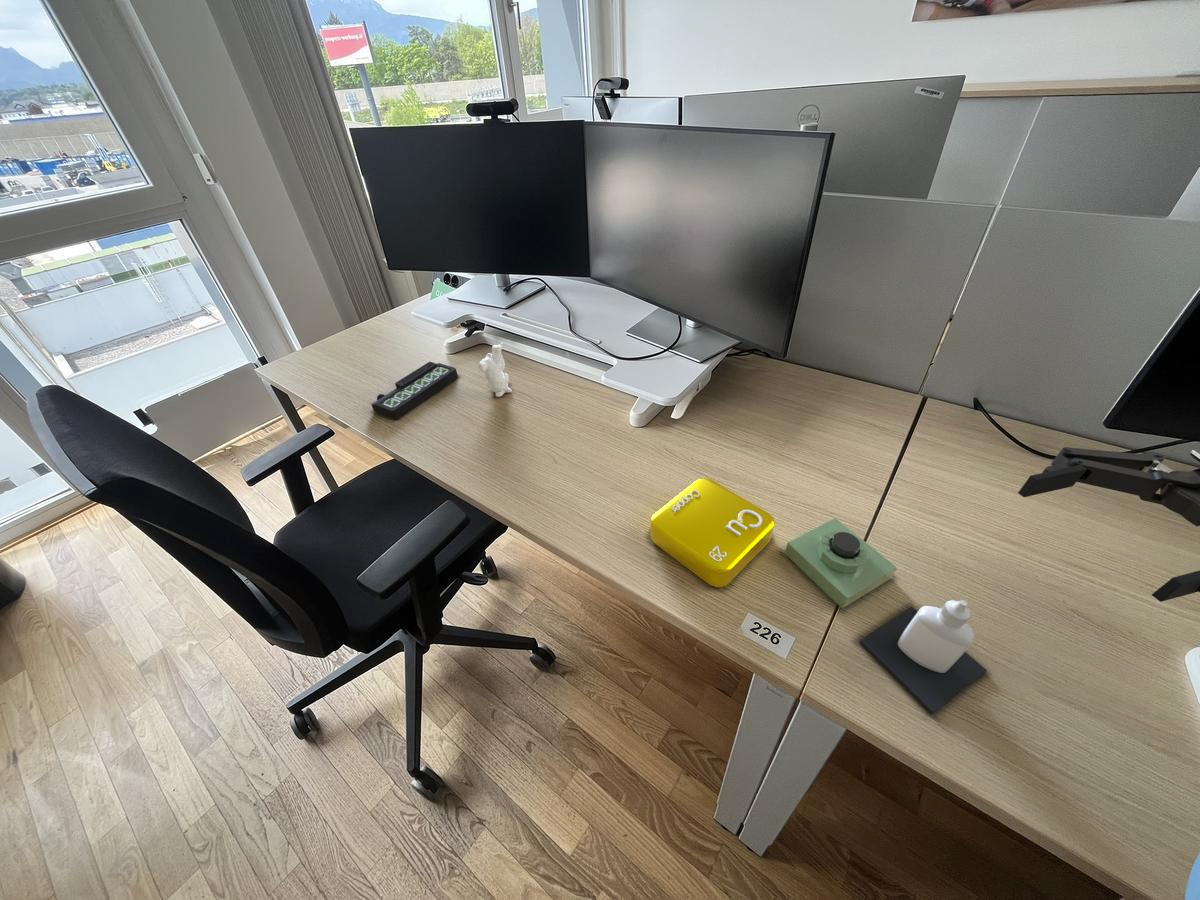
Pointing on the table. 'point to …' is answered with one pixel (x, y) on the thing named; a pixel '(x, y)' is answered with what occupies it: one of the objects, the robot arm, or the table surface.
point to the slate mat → (919, 666)
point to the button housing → (839, 564)
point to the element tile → (711, 531)
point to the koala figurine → (495, 371)
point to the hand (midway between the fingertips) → (1088, 532)
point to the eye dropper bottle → (938, 635)
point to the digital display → (414, 389)
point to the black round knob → (845, 545)
